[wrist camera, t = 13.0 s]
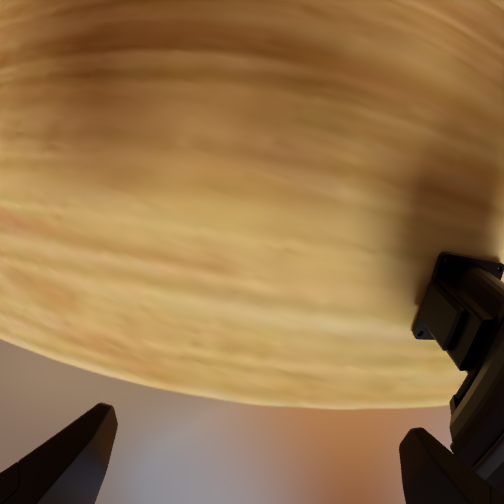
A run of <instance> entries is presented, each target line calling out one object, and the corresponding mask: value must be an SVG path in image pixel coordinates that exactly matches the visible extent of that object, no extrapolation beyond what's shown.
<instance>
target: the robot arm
mask: <svg viewBox="0 0 504 504" xmlns="http://www.w3.org/2000/svg"><path fill="white" fill-rule="evenodd" d="M445 258H447V260H446V261H445V262H443V261H444V259H445ZM498 268H499V269H498ZM503 272H504V264H503V263H501V262H499V261H495V260H489V259H484V258H478V257H473V256H467V255H461V254H456V253H450V252H442V253H441V254H440V255H439V257H438V259H437V263H436V266H435V269H434V272H433V276H432V279H431V282H430V284H429V286H428V289H427V292H426V295H425V298H424V300H423V303H422V306H421V309H420V312H419V314H418V319H417V321H416V324H415V326H414V329H413V335H414V337H415V338H416V339H423V340H436V341H437V343H438V344H439V346H440V347H441V348H442V350H443V351H446V352H447V353H448V355H449V356H450V357H451V359H452V360H453V362H454V363H455V365H456V366H457V367H458V369H459V370H460V371H466V372H467V374H468V375H467V377H466V378H465V380H464V382H463V383H462V385H461V387H460V388H459V390H458V392H457V393H456V394H455V395H453V397H452V399H451V400H450V409H451V421H450V432H451V437H452V441H453V442H452V443H451V445H450V448H451V450H452V452H453V454H452V452H450V451H449V450H448V449H447V448H446V447H445V446H443V445H442V444H441V443H440V442H439V441H438V440H437V439H435V438H434V437H433V436H432V435H431V434H430V433H428V432H427V431H426V430H425V429H424V428H420V427H419V428H412V429H410V430H409V432H408V433H407V435H406V436H405V437H404V439H403V440H402V442H401V443H400V446H399V453H400V463H401V473H402V483H403V490H404V496H405V501H406V504H504V283H503V282H502V281H501V278H502V275H503ZM419 331H421V332H420V333H418V332H419ZM117 426H118V423H117V419H116V415H115V410H114V407H113V406H112V405H109V404H105V403H98V404H97V405H95V406H94V407H93V408H91V409H90V410H89V411H87V412H86V413H85V414H83V415H82V416H80V417H79V418H78V419H76V420H75V421H74V422H72V423H71V424H70V425H68V426H67V427H65V428H64V429H63V430H61V431H60V432H59V433H57V434H56V435H54V436H53V437H51V438H50V439H49V440H47V441H46V442H45V443H43V444H42V445H40V446H39V447H37V448H36V449H35V450H33V451H32V452H30V453H29V454H28V455H26V456H25V457H23V458H22V459H20V460H19V461H18V462H16V463H14V464H13V465H12V466H10V467H9V468H7V469H6V470H4V471H3V472H1V473H0V504H95V501H96V498H97V496H98V493H99V490H100V487H101V485H102V482H103V479H104V477H105V474H106V471H107V468H108V464H109V459H110V455H111V451H112V447H113V443H114V439H115V435H116V431H117Z"/></svg>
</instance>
